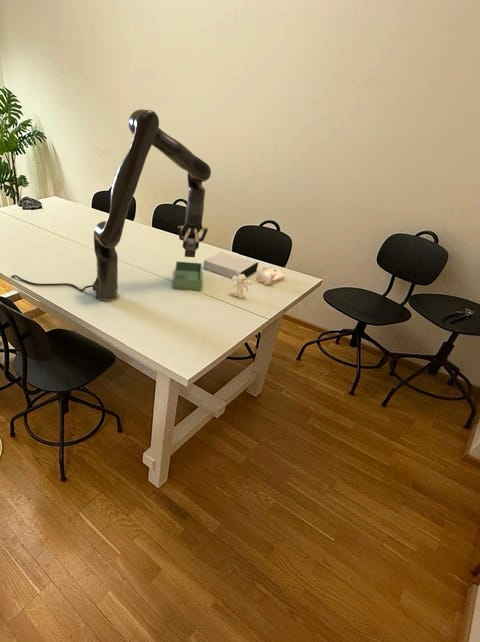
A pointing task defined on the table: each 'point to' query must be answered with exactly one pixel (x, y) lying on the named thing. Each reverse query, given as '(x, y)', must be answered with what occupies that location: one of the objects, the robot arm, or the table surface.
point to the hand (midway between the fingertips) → (190, 248)
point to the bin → (188, 276)
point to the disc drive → (230, 265)
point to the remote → (190, 247)
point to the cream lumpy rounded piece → (269, 275)
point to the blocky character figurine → (240, 284)
